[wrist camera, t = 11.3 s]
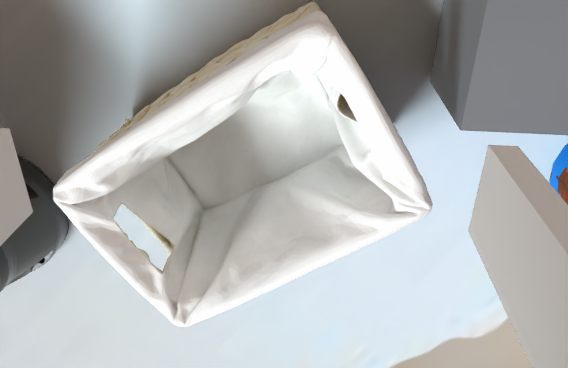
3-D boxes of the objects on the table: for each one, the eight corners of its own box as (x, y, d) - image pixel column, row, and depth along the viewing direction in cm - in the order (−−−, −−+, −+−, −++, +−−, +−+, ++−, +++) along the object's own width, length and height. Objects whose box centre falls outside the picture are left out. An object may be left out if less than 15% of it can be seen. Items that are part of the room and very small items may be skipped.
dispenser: (545, 85, 43) (610, 137, 33) (430, 81, 44) (460, 130, 34) (602, -114, 36) (707, -124, 26) (463, -117, 36) (514, -127, 26)
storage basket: (325, -24, 40) (325, 7, 27) (412, 133, 46) (445, 219, 33) (112, 117, 48) (34, 193, 35) (211, 236, 54) (175, 338, 41)
